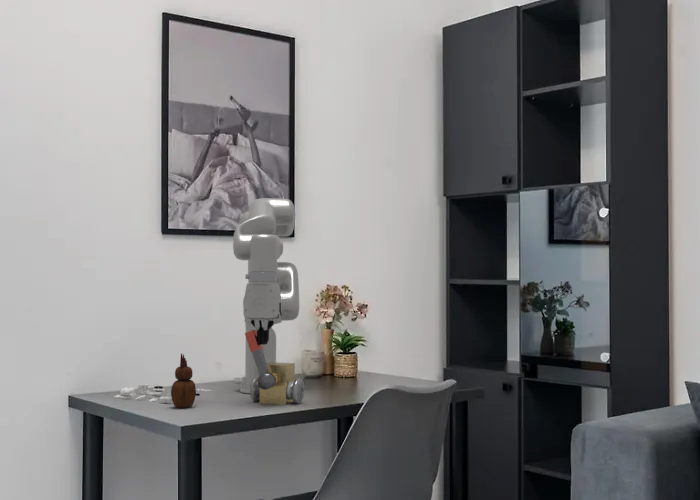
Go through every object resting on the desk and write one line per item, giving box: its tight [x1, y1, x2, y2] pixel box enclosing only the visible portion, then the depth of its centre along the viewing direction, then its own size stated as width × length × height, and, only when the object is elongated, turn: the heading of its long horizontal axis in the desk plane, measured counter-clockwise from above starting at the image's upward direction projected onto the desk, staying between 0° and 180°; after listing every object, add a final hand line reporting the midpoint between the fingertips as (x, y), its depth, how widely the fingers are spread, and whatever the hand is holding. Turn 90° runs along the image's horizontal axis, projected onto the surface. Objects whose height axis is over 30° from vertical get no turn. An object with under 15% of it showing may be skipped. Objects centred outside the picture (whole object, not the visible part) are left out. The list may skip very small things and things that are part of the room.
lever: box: [244, 330, 276, 390], centre depth 250 cm, size 4×3×17 cm
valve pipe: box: [249, 361, 305, 406], centre depth 255 cm, size 14×10×11 cm
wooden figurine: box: [170, 353, 197, 409], centre depth 246 cm, size 7×6×15 cm
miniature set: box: [113, 383, 213, 404], centre depth 261 cm, size 6×35×12 cm
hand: (262, 343), depth 250 cm, fingers closed
